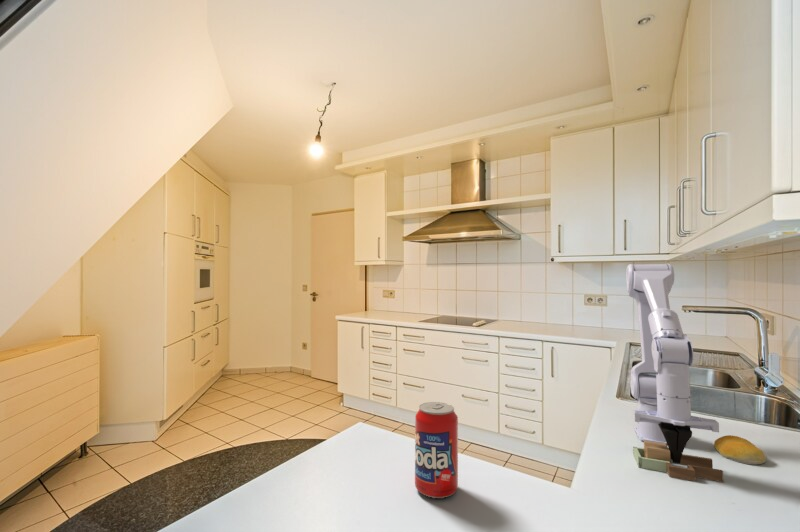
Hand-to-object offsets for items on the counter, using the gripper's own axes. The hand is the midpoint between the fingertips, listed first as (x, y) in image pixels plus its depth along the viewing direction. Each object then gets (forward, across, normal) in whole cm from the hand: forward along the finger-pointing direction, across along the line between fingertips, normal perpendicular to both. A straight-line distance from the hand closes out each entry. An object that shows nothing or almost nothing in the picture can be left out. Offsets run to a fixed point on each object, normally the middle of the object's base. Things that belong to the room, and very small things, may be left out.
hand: (675, 461), depth 78 cm
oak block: (+1, -3, 0) cm, 4 cm away
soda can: (+2, -43, -29) cm, 52 cm away
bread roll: (+2, +15, +13) cm, 20 cm away
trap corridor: (+1, 0, 0) cm, 1 cm away
